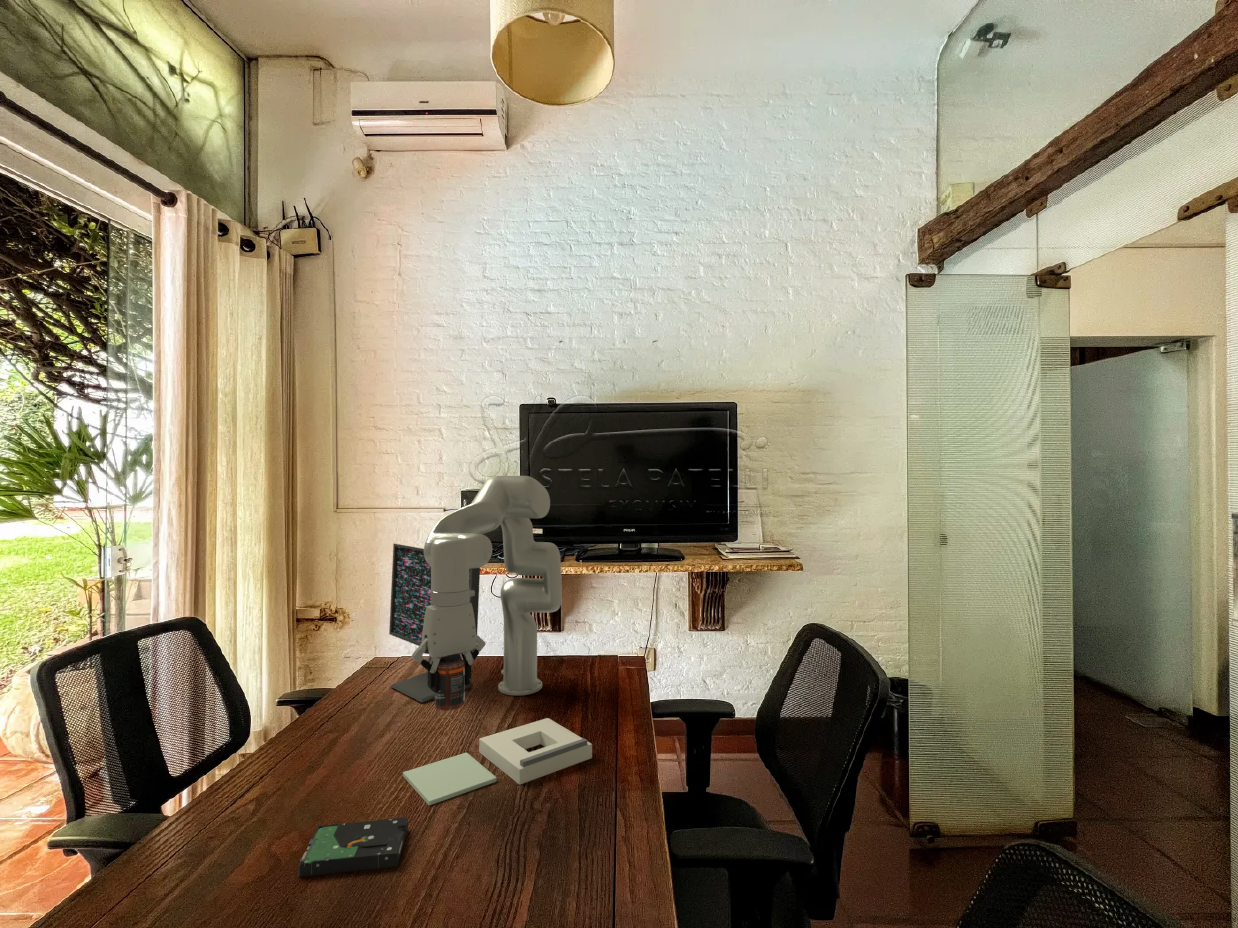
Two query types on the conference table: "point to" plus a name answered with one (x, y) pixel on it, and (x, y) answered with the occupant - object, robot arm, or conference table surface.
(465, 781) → the sage mat
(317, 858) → the disk drive
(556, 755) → the dispenser block
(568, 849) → the conference table surface
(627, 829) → the conference table surface
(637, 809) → the conference table surface
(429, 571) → the computer monitor
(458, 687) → the supplement bottle
